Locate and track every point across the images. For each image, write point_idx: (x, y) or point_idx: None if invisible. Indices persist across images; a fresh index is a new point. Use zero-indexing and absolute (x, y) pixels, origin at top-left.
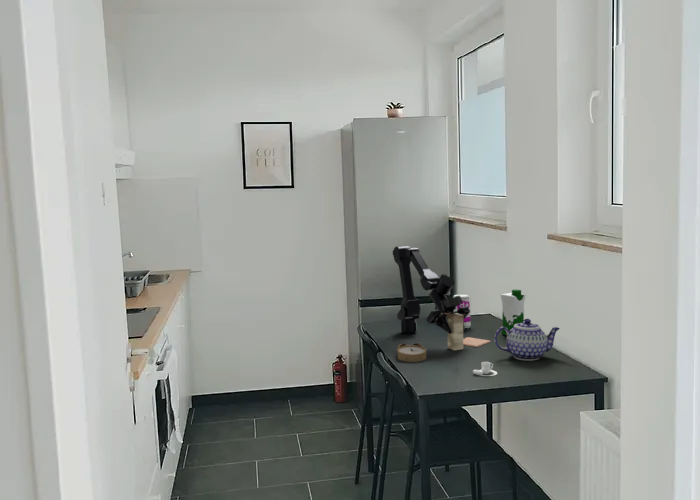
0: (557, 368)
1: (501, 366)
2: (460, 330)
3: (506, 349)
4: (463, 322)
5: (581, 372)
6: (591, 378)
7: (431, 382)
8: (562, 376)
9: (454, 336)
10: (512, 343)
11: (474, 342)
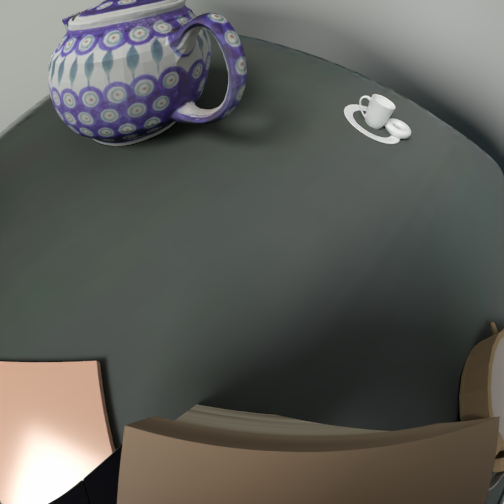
0: None
1: (295, 114)
2: (232, 419)
3: (197, 107)
4: (81, 482)
5: None
6: None
7: (488, 182)
8: (242, 44)
9: (306, 421)
10: (209, 61)
11: (44, 421)
